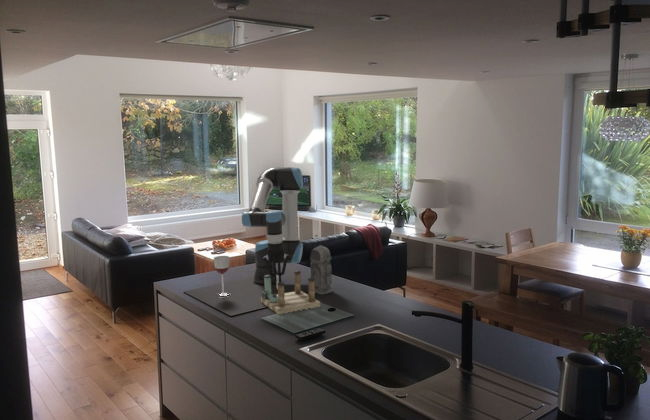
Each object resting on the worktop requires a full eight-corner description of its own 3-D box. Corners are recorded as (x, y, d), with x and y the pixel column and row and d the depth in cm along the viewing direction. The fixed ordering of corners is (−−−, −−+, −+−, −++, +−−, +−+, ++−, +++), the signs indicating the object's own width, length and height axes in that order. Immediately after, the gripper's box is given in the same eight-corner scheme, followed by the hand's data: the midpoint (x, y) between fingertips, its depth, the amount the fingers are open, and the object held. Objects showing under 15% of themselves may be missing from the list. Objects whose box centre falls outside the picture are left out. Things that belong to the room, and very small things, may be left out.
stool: (261, 301, 274) (260, 275, 272) (300, 295, 284) (300, 269, 282) (278, 314, 255) (277, 285, 253) (320, 306, 265) (319, 279, 263)
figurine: (323, 295, 282) (323, 248, 279) (306, 290, 293) (305, 244, 289) (337, 292, 289) (337, 245, 285) (320, 286, 299) (319, 241, 296)
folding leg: (280, 301, 264) (280, 279, 263) (272, 303, 262) (272, 281, 261) (270, 295, 275) (270, 274, 273) (262, 296, 272) (262, 275, 271)
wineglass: (232, 292, 290) (231, 255, 287) (228, 297, 282) (226, 259, 279) (218, 292, 291) (216, 255, 288) (213, 297, 282) (211, 259, 280)
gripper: (287, 239, 274) (289, 285, 277) (262, 241, 272) (264, 287, 275) (288, 242, 266) (291, 289, 270) (262, 244, 264) (265, 291, 268)
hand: (278, 288), depth 273 cm, fingers closed
